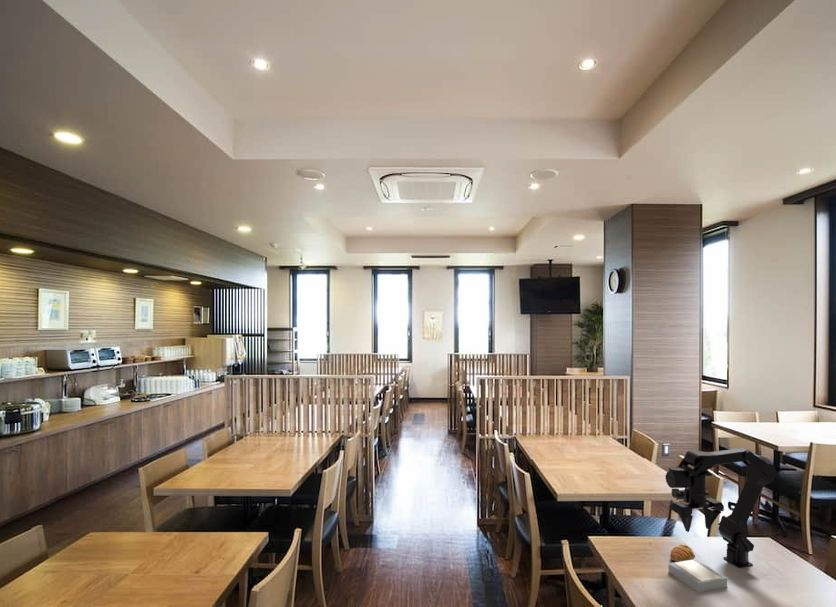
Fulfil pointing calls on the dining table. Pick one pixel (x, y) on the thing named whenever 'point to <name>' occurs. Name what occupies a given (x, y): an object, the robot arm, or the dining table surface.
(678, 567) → the plinth
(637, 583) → the dining table surface
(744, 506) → the robot arm
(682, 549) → the pastry
